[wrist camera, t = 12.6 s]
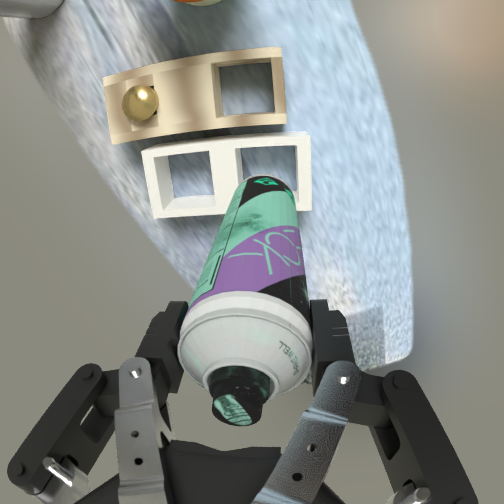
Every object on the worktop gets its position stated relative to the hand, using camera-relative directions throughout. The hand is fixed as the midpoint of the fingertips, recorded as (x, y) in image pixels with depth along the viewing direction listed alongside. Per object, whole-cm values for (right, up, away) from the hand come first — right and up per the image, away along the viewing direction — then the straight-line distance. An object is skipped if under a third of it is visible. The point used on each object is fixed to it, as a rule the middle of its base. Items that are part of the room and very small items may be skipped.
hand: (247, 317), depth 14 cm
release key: (-12, +23, +22) cm, 34 cm away
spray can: (+1, +7, +13) cm, 15 cm away
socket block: (-7, +23, +21) cm, 32 cm away
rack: (-3, +14, +26) cm, 30 cm away
